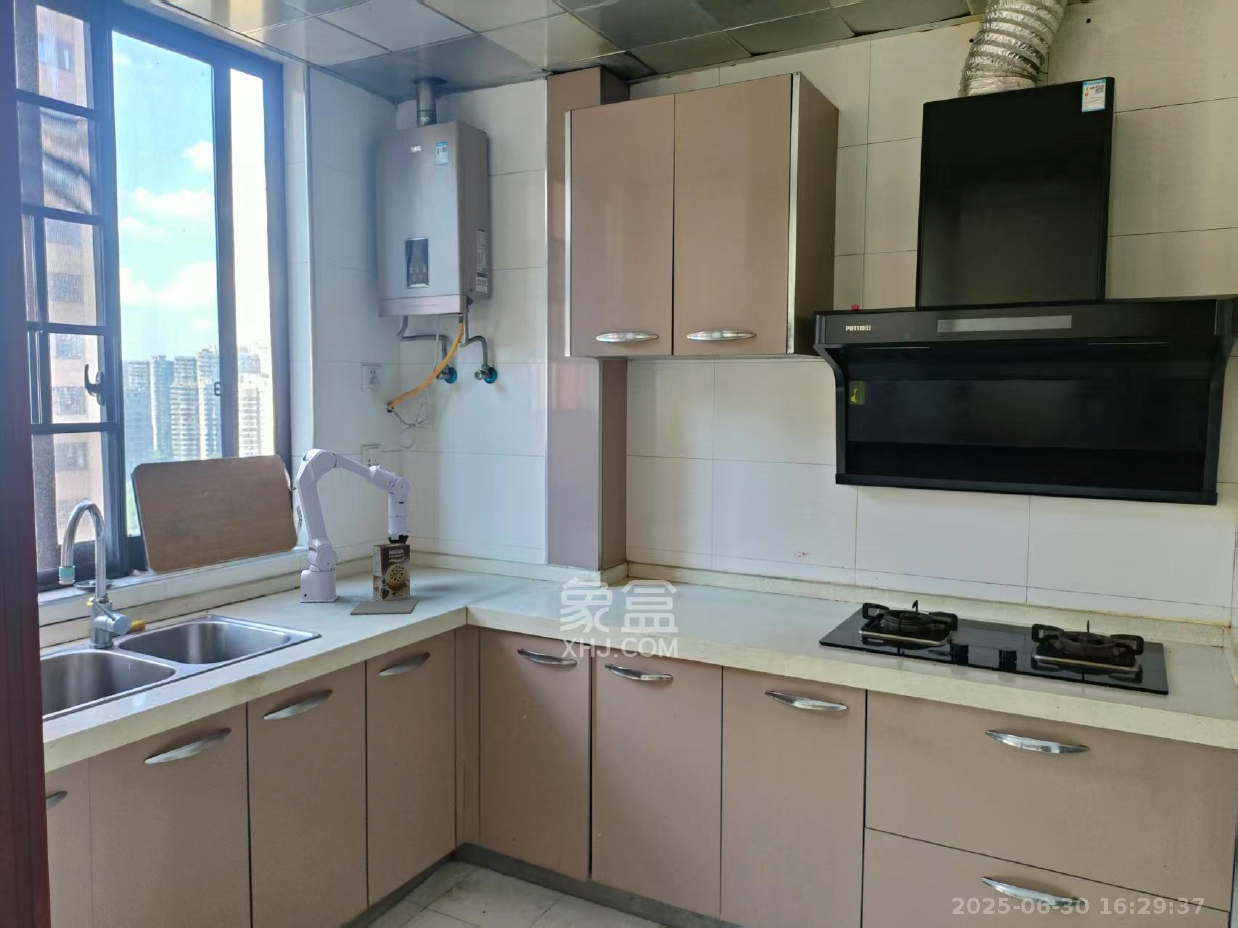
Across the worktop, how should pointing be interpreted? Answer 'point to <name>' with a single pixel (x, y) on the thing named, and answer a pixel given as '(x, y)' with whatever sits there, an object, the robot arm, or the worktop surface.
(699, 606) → the worktop surface
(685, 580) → the worktop surface
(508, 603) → the worktop surface
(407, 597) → the coffee box
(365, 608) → the mat
